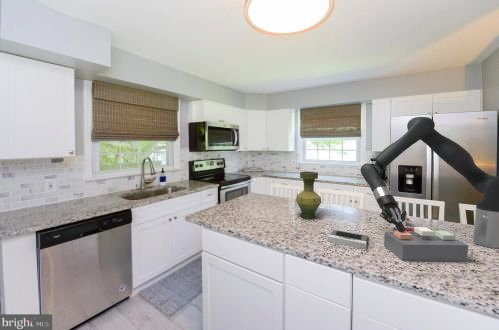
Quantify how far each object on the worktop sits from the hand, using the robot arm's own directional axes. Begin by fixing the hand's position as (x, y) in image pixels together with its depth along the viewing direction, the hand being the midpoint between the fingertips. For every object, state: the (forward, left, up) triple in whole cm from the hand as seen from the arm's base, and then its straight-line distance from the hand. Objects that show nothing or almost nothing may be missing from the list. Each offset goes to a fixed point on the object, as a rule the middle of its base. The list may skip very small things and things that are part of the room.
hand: (402, 231), depth 101 cm
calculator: (-16, -17, -10) cm, 25 cm away
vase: (+31, -49, -10) cm, 59 cm away
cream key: (-9, 0, -4) cm, 10 cm away
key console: (-9, 0, -10) cm, 13 cm away
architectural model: (-24, -36, -11) cm, 45 cm away
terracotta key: (0, 0, -6) cm, 6 cm away
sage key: (-18, 0, -6) cm, 19 cm away
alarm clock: (+18, -14, -11) cm, 25 cm away
